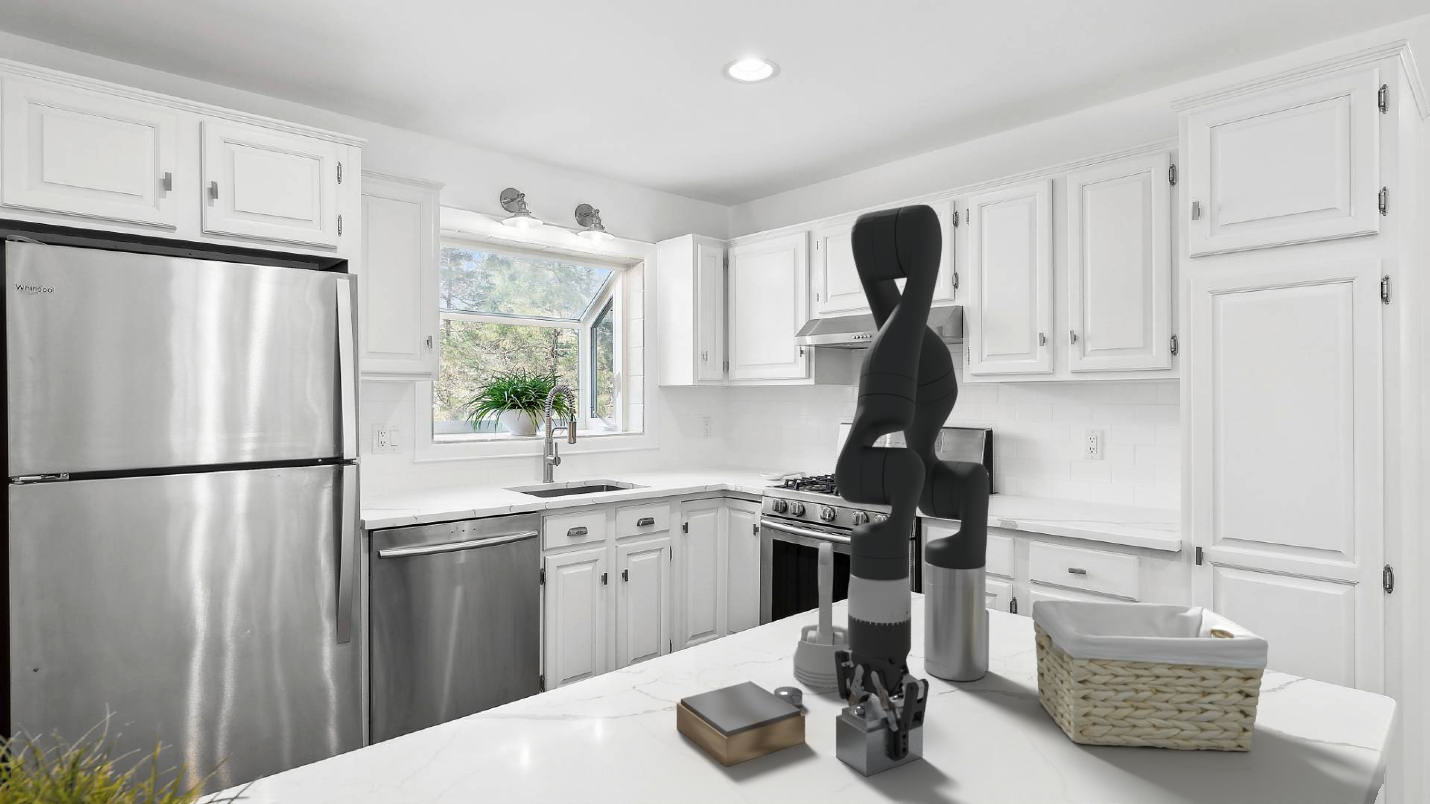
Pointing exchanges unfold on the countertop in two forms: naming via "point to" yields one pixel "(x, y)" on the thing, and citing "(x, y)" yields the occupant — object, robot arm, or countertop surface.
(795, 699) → the dark grey domed cap
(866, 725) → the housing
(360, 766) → the countertop surface
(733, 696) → the stand
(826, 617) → the engine component
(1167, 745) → the storage basket
